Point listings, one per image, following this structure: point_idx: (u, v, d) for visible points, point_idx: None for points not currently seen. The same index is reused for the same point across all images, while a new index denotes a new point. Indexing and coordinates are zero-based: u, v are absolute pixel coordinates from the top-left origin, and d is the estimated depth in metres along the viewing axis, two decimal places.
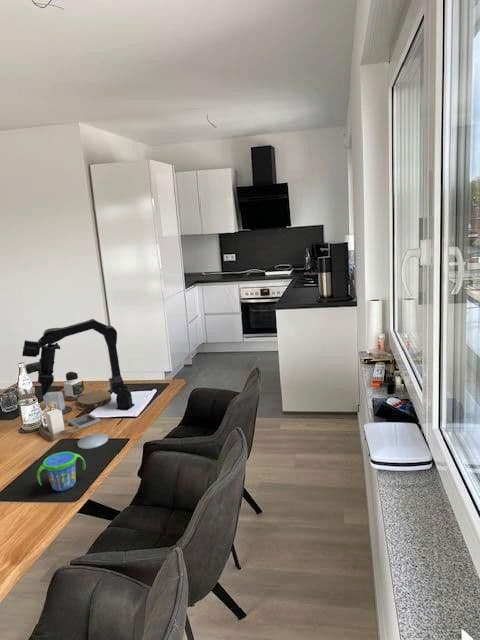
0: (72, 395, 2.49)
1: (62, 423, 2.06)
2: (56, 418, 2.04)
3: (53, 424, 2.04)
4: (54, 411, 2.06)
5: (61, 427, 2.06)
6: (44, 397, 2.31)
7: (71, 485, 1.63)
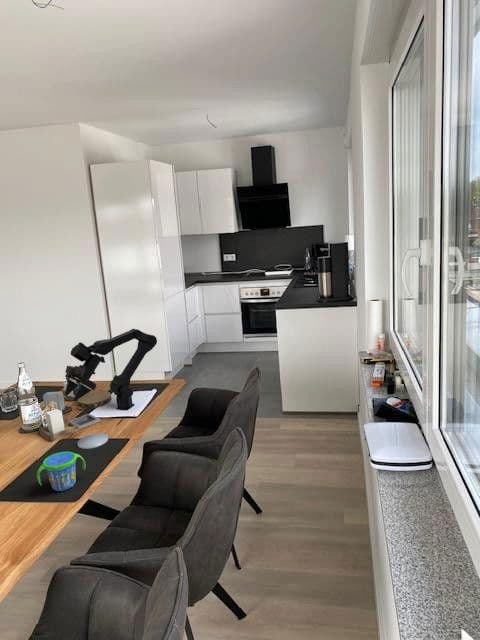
0: (72, 395, 2.49)
1: (62, 423, 2.06)
2: (56, 418, 2.04)
3: (53, 424, 2.04)
4: (54, 411, 2.06)
5: (61, 427, 2.06)
6: (44, 397, 2.31)
7: (71, 485, 1.63)
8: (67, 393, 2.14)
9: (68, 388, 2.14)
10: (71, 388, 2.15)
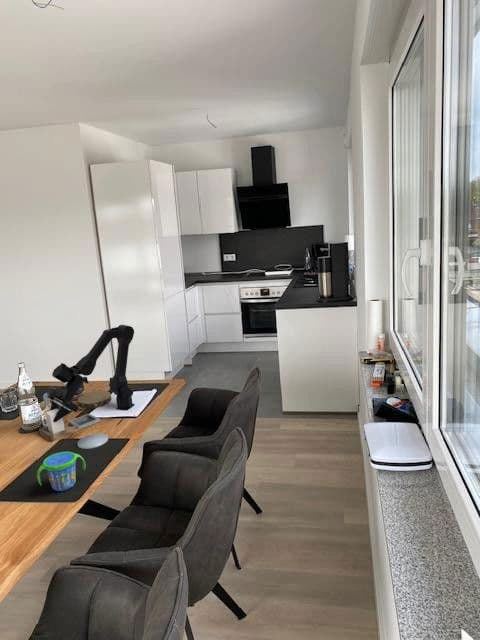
0: None
1: (62, 423, 2.06)
2: None
3: (53, 424, 2.04)
4: (54, 411, 2.06)
5: (61, 427, 2.06)
6: (44, 397, 2.31)
7: (71, 485, 1.63)
8: None
9: None
10: None
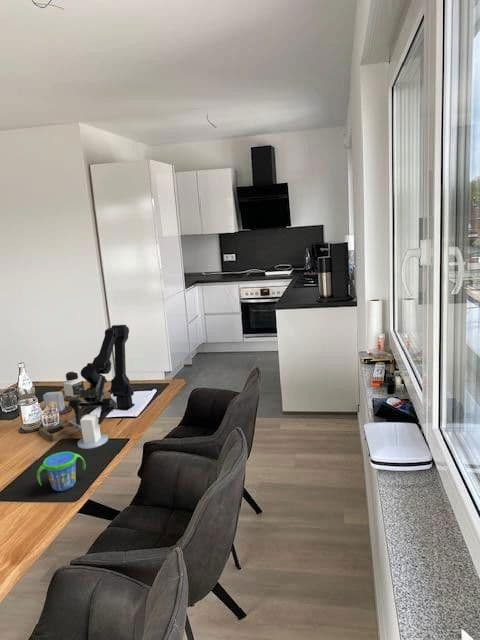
0: (72, 395, 2.49)
1: (98, 427, 1.97)
2: (95, 423, 1.95)
3: (94, 429, 1.94)
4: (89, 416, 1.95)
5: (98, 431, 1.97)
6: (44, 397, 2.31)
7: (71, 485, 1.63)
8: (79, 421, 1.96)
9: (78, 416, 1.96)
10: (80, 415, 1.98)
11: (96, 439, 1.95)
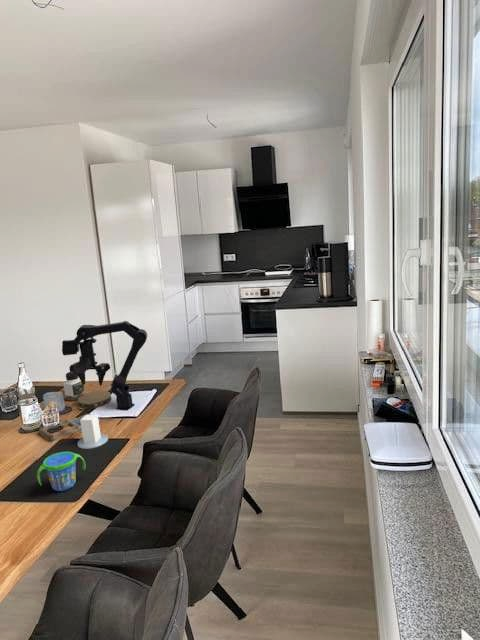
0: (72, 395, 2.49)
1: (98, 427, 1.97)
2: (95, 423, 1.95)
3: (94, 429, 1.94)
4: (89, 416, 1.95)
5: (98, 431, 1.97)
6: (44, 397, 2.31)
7: (71, 485, 1.63)
8: (84, 381, 2.27)
9: (82, 378, 2.26)
10: (83, 375, 2.27)
11: (96, 439, 1.95)
